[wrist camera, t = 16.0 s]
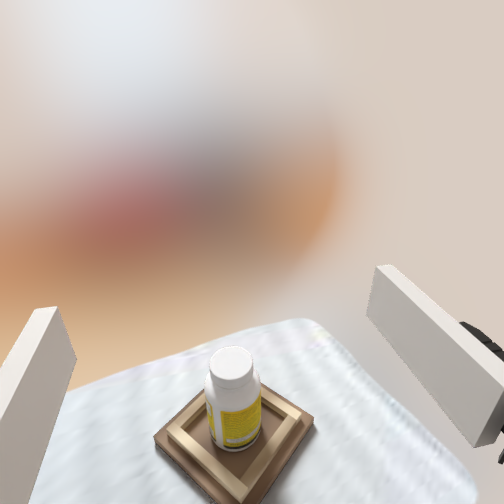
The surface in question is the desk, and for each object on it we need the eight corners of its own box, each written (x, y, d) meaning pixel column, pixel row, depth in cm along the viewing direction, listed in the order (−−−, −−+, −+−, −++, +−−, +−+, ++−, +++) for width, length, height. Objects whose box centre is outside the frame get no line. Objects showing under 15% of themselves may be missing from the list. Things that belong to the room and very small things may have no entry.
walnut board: (154, 441, 34) (151, 430, 33) (231, 368, 42) (230, 357, 41) (242, 528, 28) (242, 518, 27) (313, 422, 36) (314, 411, 35)
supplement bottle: (270, 420, 35) (272, 355, 30) (241, 465, 31) (237, 399, 26) (230, 395, 38) (225, 332, 33) (198, 434, 34) (188, 369, 29)
